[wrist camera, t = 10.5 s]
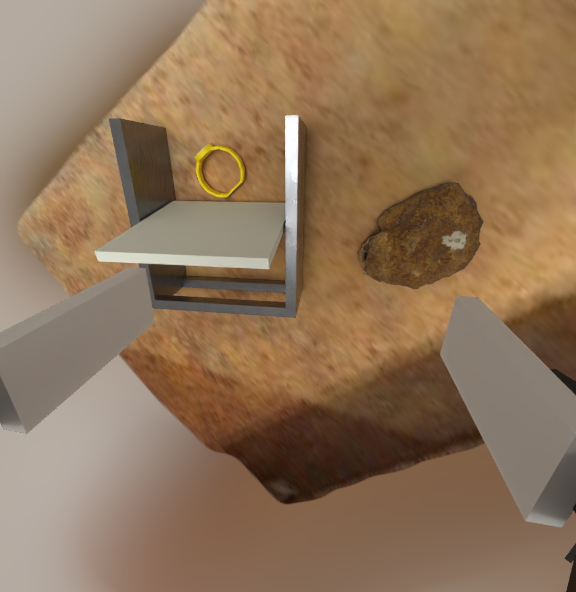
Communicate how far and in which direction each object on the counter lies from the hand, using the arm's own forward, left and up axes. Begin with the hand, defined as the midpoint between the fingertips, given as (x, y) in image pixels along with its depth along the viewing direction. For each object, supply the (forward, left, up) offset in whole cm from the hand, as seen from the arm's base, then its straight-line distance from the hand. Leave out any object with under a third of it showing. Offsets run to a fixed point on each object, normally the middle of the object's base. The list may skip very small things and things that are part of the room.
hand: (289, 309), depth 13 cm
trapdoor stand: (+11, +1, -29) cm, 32 cm away
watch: (+11, -3, -29) cm, 31 cm away
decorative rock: (-13, +4, -30) cm, 33 cm away
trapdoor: (+11, +1, -20) cm, 23 cm away
